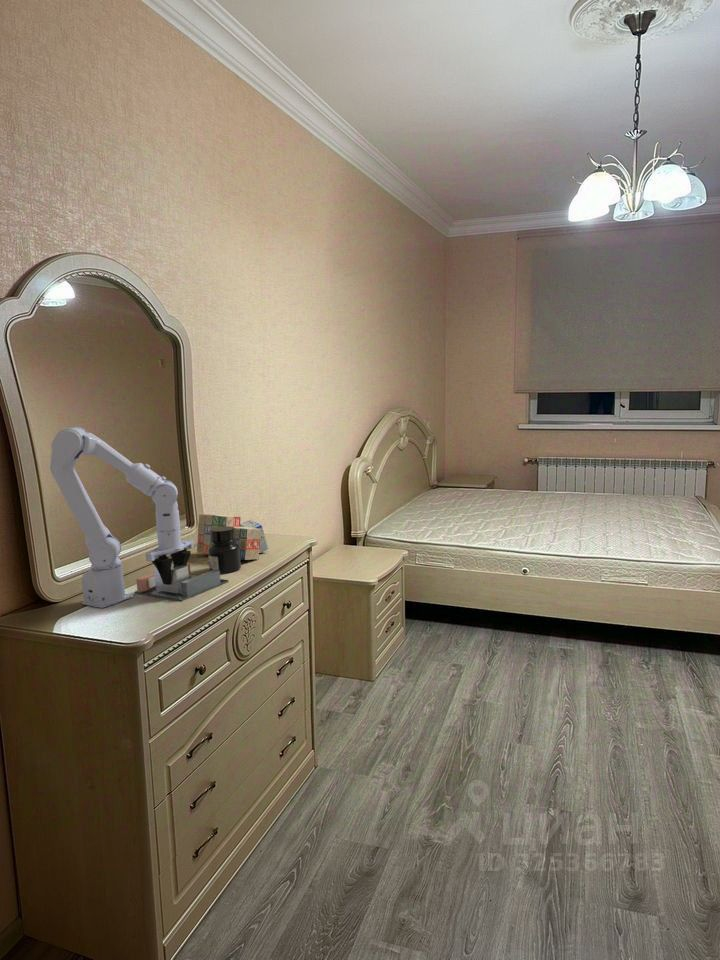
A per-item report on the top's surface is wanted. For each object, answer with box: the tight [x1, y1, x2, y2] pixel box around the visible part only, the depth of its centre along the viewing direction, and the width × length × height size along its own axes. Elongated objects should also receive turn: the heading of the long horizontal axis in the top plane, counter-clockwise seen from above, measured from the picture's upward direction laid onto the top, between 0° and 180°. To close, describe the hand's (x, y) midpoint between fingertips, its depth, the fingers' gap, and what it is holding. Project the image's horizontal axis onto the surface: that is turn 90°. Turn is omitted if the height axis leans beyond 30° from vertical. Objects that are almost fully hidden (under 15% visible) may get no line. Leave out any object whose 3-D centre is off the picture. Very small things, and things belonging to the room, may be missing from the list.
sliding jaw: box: [135, 561, 192, 592], centre depth 179 cm, size 17×2×3 cm, turn 150°
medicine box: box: [240, 519, 269, 554], centre depth 209 cm, size 8×4×9 cm, turn 35°
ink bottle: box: [207, 526, 242, 574], centre depth 191 cm, size 10×9×12 cm
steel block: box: [153, 563, 190, 593], centre depth 171 cm, size 4×8×6 cm, turn 60°
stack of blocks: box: [196, 513, 261, 561], centre depth 205 cm, size 21×6×12 cm, turn 54°
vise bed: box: [134, 570, 229, 602], centre depth 176 cm, size 17×17×4 cm
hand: (173, 581), depth 171 cm, fingers closed on steel block, 4 cm apart
